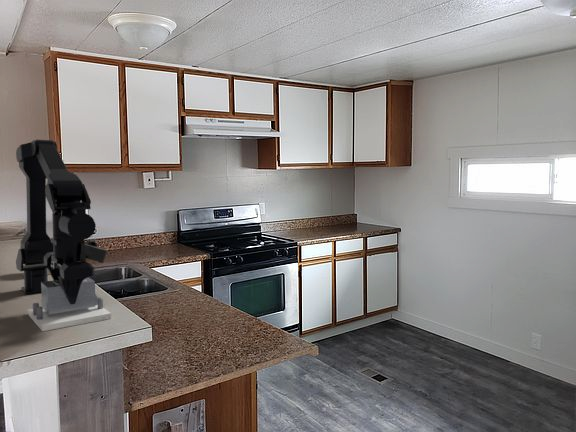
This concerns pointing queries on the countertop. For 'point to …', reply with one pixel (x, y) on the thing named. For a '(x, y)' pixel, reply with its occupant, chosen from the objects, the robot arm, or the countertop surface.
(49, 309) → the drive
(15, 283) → the countertop surface
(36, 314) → the tray
